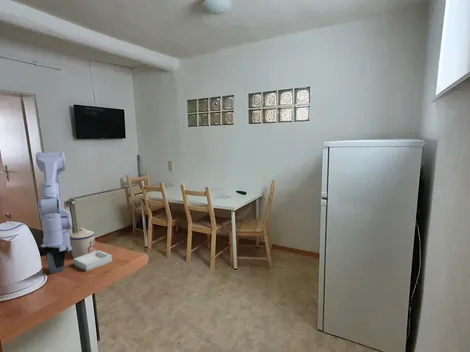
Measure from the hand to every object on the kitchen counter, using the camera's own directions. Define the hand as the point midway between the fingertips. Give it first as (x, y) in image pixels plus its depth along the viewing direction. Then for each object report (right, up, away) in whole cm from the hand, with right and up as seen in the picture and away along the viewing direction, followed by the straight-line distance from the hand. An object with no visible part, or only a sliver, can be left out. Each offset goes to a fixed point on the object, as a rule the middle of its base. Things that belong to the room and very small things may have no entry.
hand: (56, 265), depth 99 cm
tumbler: (0, -2, 0) cm, 2 cm away
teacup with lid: (+2, 0, +16) cm, 16 cm away
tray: (+11, -1, +6) cm, 12 cm away
